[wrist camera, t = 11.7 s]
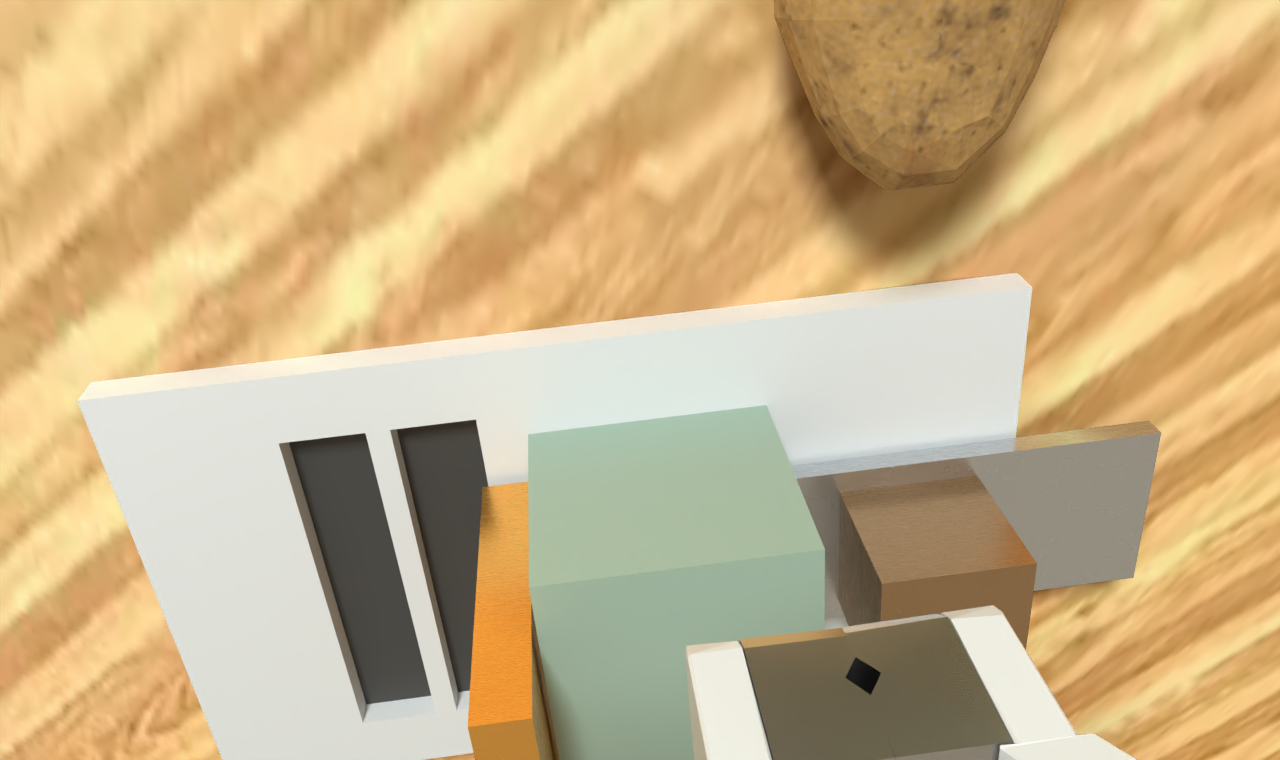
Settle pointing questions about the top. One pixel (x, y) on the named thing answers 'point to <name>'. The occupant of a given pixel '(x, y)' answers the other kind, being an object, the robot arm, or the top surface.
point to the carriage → (865, 550)
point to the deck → (476, 481)
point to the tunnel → (660, 568)
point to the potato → (915, 78)
